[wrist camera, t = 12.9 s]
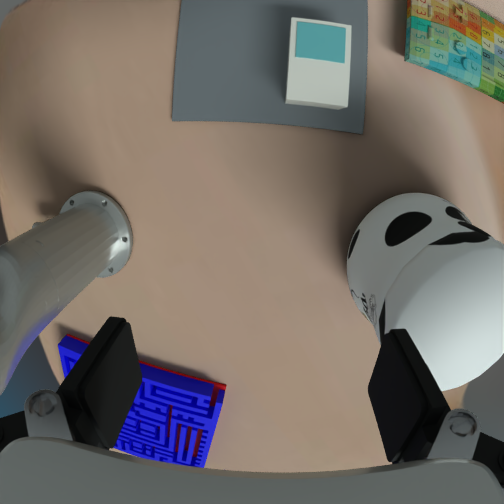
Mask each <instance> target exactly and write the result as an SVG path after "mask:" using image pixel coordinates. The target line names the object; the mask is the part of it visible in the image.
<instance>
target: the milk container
mask: <svg viewBox="0 0 504 504" xmlns="http://www.w3.org/2000/svg"><path fill="white" fill-rule="evenodd" d="M347 277H348V283H349V288H350V291H351V294H352V297H353V299H354V301H355V303H356V305H357V307H358V308H359V310H360V311H361V313H362V314H363V315H364V316H365V317H366V318H367V320H368V321H370V322H371V323H372V324H373V326H374V329H375V332H376V335H377V337H378V340H379V342H380V344H381V345H382V341H383V338H384V335H385V334H386V333H389V331H390V330H391V329H406V330H407V332H408V333H409V335H410V337H411V338H412V340H413V342H414V344H415V345H416V347H417V349H418V351H419V352H420V354H421V356H422V358H423V360H424V361H425V363H426V364H427V366H428V367H429V369H430V371H431V373H432V375H433V377H434V379H435V380H436V382H437V384H438V386H439V388H440V390H441V391H445V390H449V389H453V388H456V387H459V386H461V385H463V384H465V383H467V382H469V381H471V380H473V379H474V378H476V377H478V376H480V375H481V374H482V373H483V372H485V371H486V370H487V369H488V368H489V367H490V366H491V365H493V364H494V363H495V362H496V361H497V360H498V359H499V358H500V357H501V356H502V354H503V353H504V244H502V243H501V242H499V241H497V240H495V239H494V238H493V237H492V236H490V235H489V234H488V233H486V232H484V231H483V230H481V229H479V228H477V227H475V226H474V225H472V223H471V222H470V220H469V219H468V218H467V217H466V215H465V214H464V213H463V212H462V211H461V210H460V209H459V208H457V207H456V206H455V205H454V204H452V203H450V202H449V201H447V200H445V199H443V198H441V197H438V196H435V195H430V194H425V193H406V194H401V195H397V196H394V197H392V198H389V199H387V200H385V201H384V202H382V203H380V204H379V205H378V206H376V207H375V208H374V209H373V210H371V211H370V212H369V213H368V214H367V215H366V217H365V218H364V219H363V220H362V222H361V223H360V224H359V226H358V228H357V229H356V231H355V233H354V235H353V237H352V240H351V243H350V246H349V250H348V256H347Z"/></svg>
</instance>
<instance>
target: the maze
mask: <svg viewBox="0 0 504 504" xmlns="http://www.w3.org/2000/svg"><path fill="white" fill-rule="evenodd" d="M89 344H90V343H89V342H87V341H84V340H82V339H79V338H77V337H74V336H72V335H69V334H67V335H66V336H65V337H64V338H63V339H62V340H61V342H60V343H59V344H58V348H59V353H60V358H61V363H62V367H63V372H64V376H65V378H66V376H67V375H68V374H69V372H70V371H71V369H72V368H73V366H74V365H75V363H76V362H77V361H78V359H79V358H80V356H81V355H82V354H83V352H84V351H85V349H86V348H87V347H88V345H89ZM139 364H140V368H141V372H142V383H141V386H140V388H139V390H138V392H137V395H136V397H135V399H134V402H133V404H132V406H131V408H130V411H129V413H128V415H127V418H126V420H125V422H124V425H123V427H122V429H121V432H120V434H119V437H118V439H117V441H116V444H115V446H114V447H113V448H116V449H118V450H121V451H124V452H126V453H129V454H132V455H135V456H138V457H141V458H145V459H150V460H155V461H161V462H166V463H172V464H178V465H185V466H192V467H200V468H204V465H205V462H206V459H207V455H208V452H209V448H210V445H211V442H212V438H213V435H214V431H215V428H216V424H217V421H218V417H219V414H220V411H221V407H222V404H223V399H224V394H225V389H226V385H224V384H220V383H216V382H212V381H208V380H204V379H200V378H196V377H193V376H189V375H185V374H182V373H178V372H175V371H171V370H168V369H165V368H161V367H158V366H155V365H152V364H148V363H145V362H142V361H139Z"/></svg>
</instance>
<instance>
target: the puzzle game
mask: <svg viewBox="0 0 504 504" xmlns="http://www.w3.org/2000/svg"><path fill="white" fill-rule="evenodd" d="M404 61H407V62H410V63H413V64H416V65H418V66H421V67H424V68H427V69H429V70H432V71H434V72H437V73H440V74H442V75H444V76H447V77H449V78H452V79H454V80H456V81H459V82H461V83H463V84H465V85H468V86H470V87H472V88H474V89H476V90H478V91H480V92H482V93H484V94H486V95H488V96H490V97H492V98H494V99H496V100H498V101H500V102H502V103H503V104H504V25H503V24H502V23H500V22H498V21H497V20H495V19H494V18H492V17H490V16H489V15H487V14H485V13H483V12H482V11H480V10H478V9H476V8H475V7H473V6H471V5H469V4H467V3H465V2H463V1H461V0H407V28H406V46H405V60H404Z"/></svg>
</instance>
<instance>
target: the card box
mask: <svg viewBox="0 0 504 504" xmlns="http://www.w3.org/2000/svg"><path fill="white" fill-rule="evenodd" d="M350 59H351V25H345V24H340V23H333V22H327V21H320V20H312V19H304V18H294V17H292V18H291V26H290V37H289V53H288V69H287V84H286V99H285V104H295V105H305V106H313V107H321V108H329V109H336V110H339V109H342V108H346V107H348V95H349V79H350Z"/></svg>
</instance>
